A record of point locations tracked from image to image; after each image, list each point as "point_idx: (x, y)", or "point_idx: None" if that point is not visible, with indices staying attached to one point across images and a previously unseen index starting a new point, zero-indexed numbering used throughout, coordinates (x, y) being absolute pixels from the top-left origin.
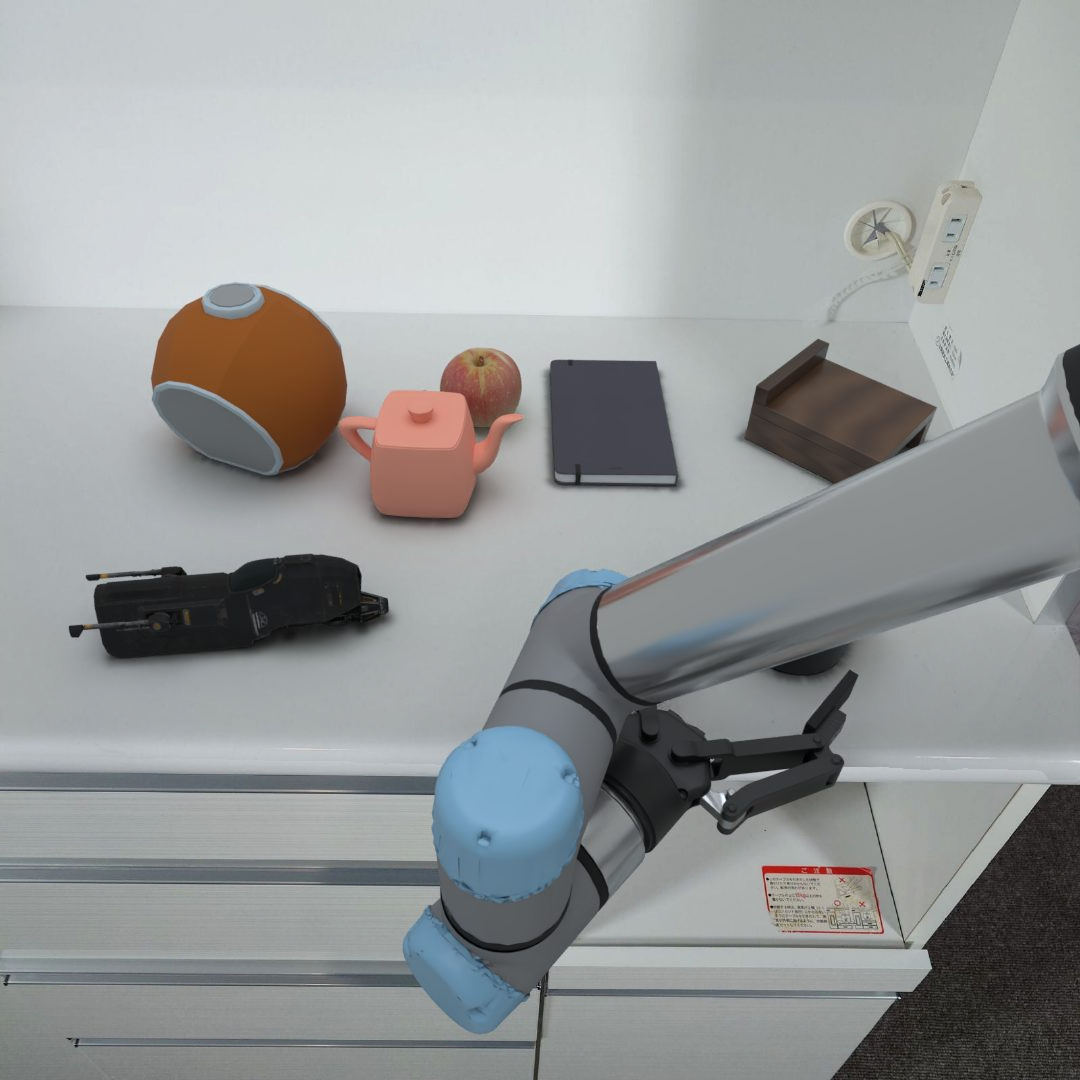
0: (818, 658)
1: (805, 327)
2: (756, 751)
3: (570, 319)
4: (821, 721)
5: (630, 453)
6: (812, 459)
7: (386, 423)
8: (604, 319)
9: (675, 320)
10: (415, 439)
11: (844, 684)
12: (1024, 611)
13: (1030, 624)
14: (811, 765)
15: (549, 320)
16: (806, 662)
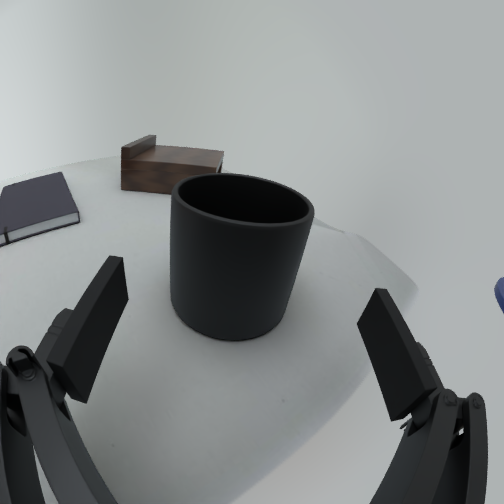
0: (283, 305)
1: None
2: (428, 499)
3: (20, 175)
4: (428, 372)
5: (43, 210)
6: (169, 184)
7: None
8: (37, 171)
9: (73, 163)
10: None
11: (392, 307)
12: (334, 229)
13: (343, 233)
14: (475, 434)
15: (10, 179)
16: (274, 316)
